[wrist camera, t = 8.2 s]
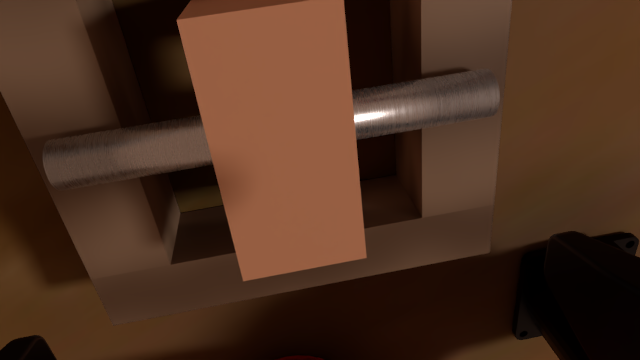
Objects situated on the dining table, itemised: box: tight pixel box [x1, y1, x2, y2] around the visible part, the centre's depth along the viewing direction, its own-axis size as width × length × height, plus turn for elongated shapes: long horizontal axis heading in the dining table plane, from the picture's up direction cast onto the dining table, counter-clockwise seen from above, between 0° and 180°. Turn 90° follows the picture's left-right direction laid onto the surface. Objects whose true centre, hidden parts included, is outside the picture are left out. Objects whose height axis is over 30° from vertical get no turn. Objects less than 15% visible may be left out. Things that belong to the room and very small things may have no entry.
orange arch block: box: [177, 0, 367, 281], centre depth 15 cm, size 8×4×6 cm, turn 7°
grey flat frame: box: [0, 0, 512, 326], centre depth 17 cm, size 15×16×4 cm
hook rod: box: [42, 68, 500, 191], centre depth 15 cm, size 2×14×2 cm, turn 96°
